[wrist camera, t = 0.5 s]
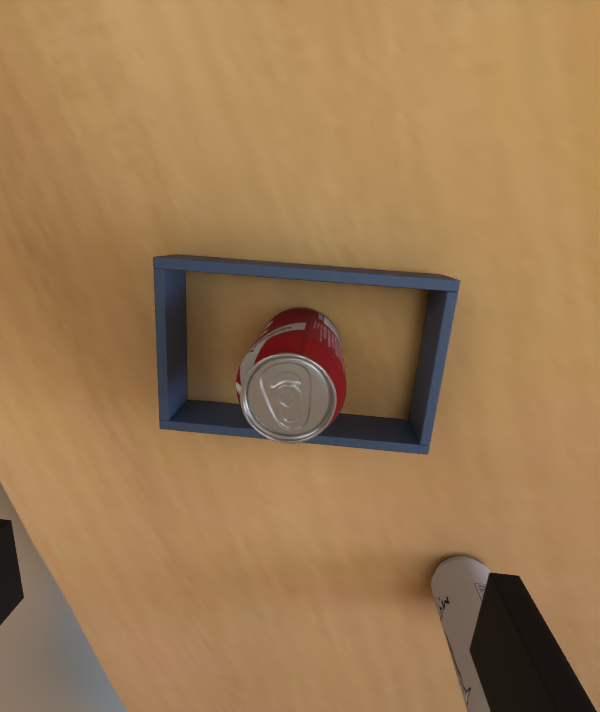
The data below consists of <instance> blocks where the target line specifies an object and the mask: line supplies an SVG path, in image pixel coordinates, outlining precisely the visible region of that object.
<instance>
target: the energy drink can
mask: <svg viewBox="0 0 600 712" xmlns="http://www.w3.org/2000/svg"><path fill="white" fill-rule="evenodd" d="M489 573H491V571H490V570H489V569H488V568H487V567H486V566H485V565H483V564H482V563H479V562H478V561H476V560H474V559H472V558H470V557H465V556H456V557H451V558H448V559H446V560H444V561H443V562H441V563H440V564H439V565H438V567H437V568H436V570H435V573H434V575H433V577H432V580H431V590H432V593H433V596H434V600H435V603H436V606H437V610H438V613H439V616H440V620H441V623H442V627H443V630H444V633H445V637H446V640H447V643H448V647H449V650H450V653H451V657H452V660H453V664H454V667H455V670H456V674H457V677H458V680H459V684H460V687H461V690H462V694H463V697H464V701H465V704H466V707H467V711H468V712H490V709H489V706H488V703H487V700H486V697H485V694H484V691H483V688H482V686H481V683H480V680H479V677H478V674H477V671H476V668H475V665H474V663H473V660H472V657H471V654H470V651H469V649H470V645H471V641H472V638H473V634H474V630H475V626H476V622H477V618H478V614H479V611H480V607H481V603H482V599H483V595H484V591H485V587H486V584H487V580H488V576H489Z"/></svg>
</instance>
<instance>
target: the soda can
mask: <svg viewBox="0 0 600 712" xmlns="http://www.w3.org/2000/svg"><path fill="white" fill-rule="evenodd" d="M236 391H237V396H238V400H239V403H240V405H241V408H242V411H243V414H244V416H245V418H246V420H247V421H248V423H249V424H250V425H251V426H252V427H253V428H254V429H255V430H256V431H257V432H258V433H259V434H261V435H262V436H264V437H266V438H268V439H270V440H273V441H276V442H280V443H300V442H304V441H307V440H310V439H312V438H314V437H315V436H317V435H318V434H320V433H321V432H322V431H323V430H324V429H325V428H326V427H328V426H329V425H330V424H331V423H332V422H333V421H334V420H335V419H336V417H337V416H338V414H339V413H340V411H341V409H342V407H343V404H344V401H345V396H346V378H345V370H344V363H343V355H342V347H341V340H340V336H339V333H338V331H337V329H336V327H335V326H334V324H333V323H332V322H331V321H330V320H329V319H328V318H327V317H326V316H324V315H323V314H321V313H319V312H317V311H315V310H312V309H308V308H293V309H289V310H286V311H283V312H281V313H280V314H278V315H277V316H275V317H274V318H273V319H272V320H271V321H270V322H269V323H268V325H267V326H266V328H265V329H264V330H263V332H262V333H261V335H260V336H259V337H258V339H257V340H256V342H255V343H254V345H253V346H252V347H251V349H250V350H249V352H248V353H247V355H246V356H245V358H244V359H243V361H242V363H241V365H240V367H239V370H238V374H237V379H236Z"/></svg>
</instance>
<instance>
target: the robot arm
mask: <svg viewBox="0 0 600 712" xmlns="http://www.w3.org/2000/svg"><path fill="white" fill-rule="evenodd" d="M23 598H24V596H23V589H22V584H21V577H20V572H19V566H18V559H17V553H16V548H15V541H14V535H13V529H12V523H11V520H3V519H0V625H1V624H2V623H3V621H4V620H5V619H6V618H7V617H8V616H9V614H10V613H11V612H12V611H13V610H14V609H15V607H16V606H17V605H18V604H19V603H20V602H21V600H22V599H23ZM469 651H470V654H471V657H472V660H473V663H474V665H475V668H476V671H477V674H478V677H479V680H480V683H481V686H482V688H483V691H484V694H485V697H486V700H487V703H488V706H489V709H490V712H597V711H596V710H595V708H594V706H593V704H592V703H591V701H590V699H589V697H588V696H587V694H586V692H585V690H584V689H583V687H582V685H581V683H580V682H579V680H578V678H577V676H576V675H575V673H574V671H573V669H572V668H571V666H570V664H569V662H568V661H567V659H566V657H565V655H564V654H563V652H562V650H561V648H560V647H559V645H558V643H557V641H556V640H555V638H554V636H553V635H552V633H551V631H550V629H549V628H548V626H547V624H546V622H545V621H544V619H543V617H542V615H541V614H540V612H539V610H538V608H537V607H536V605H535V603H534V601H533V600H532V598H531V596H530V594H529V593H528V591H527V589H526V587H525V586H524V584H523V582H522V580H521V579H520V577H519V576H516V575H507V574H498V573H489V576H488V580H487V584H486V587H485V591H484V595H483V599H482V603H481V607H480V611H479V614H478V618H477V622H476V626H475V630H474V634H473V638H472V641H471V645H470V649H469Z"/></svg>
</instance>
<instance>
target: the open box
mask: <svg viewBox="0 0 600 712" xmlns="http://www.w3.org/2000/svg"><path fill="white" fill-rule="evenodd" d="M153 266H154V290H155V316H156V343H157V369H158V396H159V420H160V429H168V430H178V431H188V432H199V433H209V434H219V435H230V436H240V437H251V438H261V439H268V438H266V437H264V436H262V435H261V434H259V433H258V432H257V431H256V430H255V429H254V428H253V427H252V426H251V425H250V424H249V423H248V421H247V420H246V418H245V416H244V414H243V411H242V408H241V405H240V404H229V403H218V402H207V401H196V400H187V332H186V271H195V272H208V273H221V274H234V275H247V276H259V277H272V278H285V279H298V280H311V281H324V282H337V283H349V284H362V285H375V286H388V287H401V288H414V289H427V290H430V293H429V299H428V305H427V312H426V318H425V324H424V330H423V336H422V342H421V348H420V354H419V360H418V366H417V372H416V378H415V384H414V390H413V396H412V402H411V409H410V415H409V420H401V419H391V418H380V417H369V416H358V415H347V414H338V416H337V417H336V419H335V420H334V421H333V422H332V423H331V424H330V425H329V426H328V427H326V428H325V429H324V430H323V431H322V432H321V433H320V434H318V435H317V436H315V437H314V438H312V439H310V440H307V441H304V442H302V443H313V444H323V445H334V446H344V447H354V448H365V449H375V450H385V451H396V452H406V453H417V454H428V452H429V445H430V441H431V436H432V430H433V425H434V419H435V414H436V409H437V403H438V398H439V393H440V387H441V382H442V376H443V371H444V366H445V360H446V355H447V350H448V344H449V339H450V333H451V328H452V323H453V317H454V312H455V306H456V301H457V296H458V291H459V286H460V280H457V279H454V278H451V277H448V276H445V275H440V274H426V273H413V272H400V271H387V270H374V269H361V268H347V267H334V266H321V265H308V264H295V263H282V262H268V261H255V260H242V259H229V258H216V257H203V256H190V255H167V256H158V257H153Z"/></svg>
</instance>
